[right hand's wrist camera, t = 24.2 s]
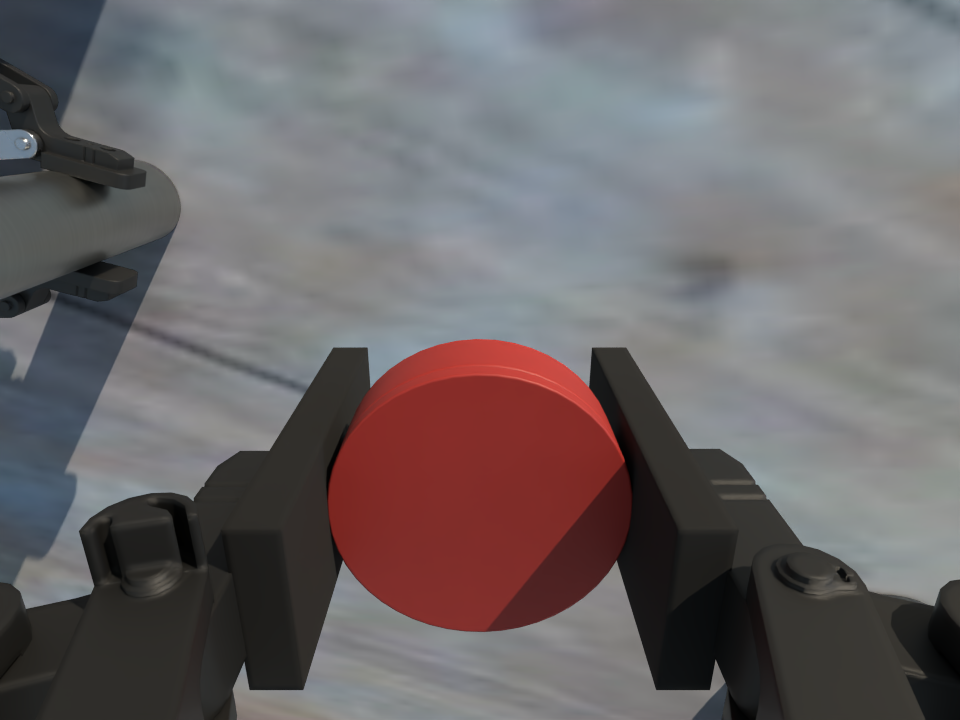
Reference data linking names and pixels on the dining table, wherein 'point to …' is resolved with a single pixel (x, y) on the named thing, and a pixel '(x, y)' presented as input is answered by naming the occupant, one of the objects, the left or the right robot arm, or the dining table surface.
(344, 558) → the lid
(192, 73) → the dining table surface
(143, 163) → the gray cylinder
